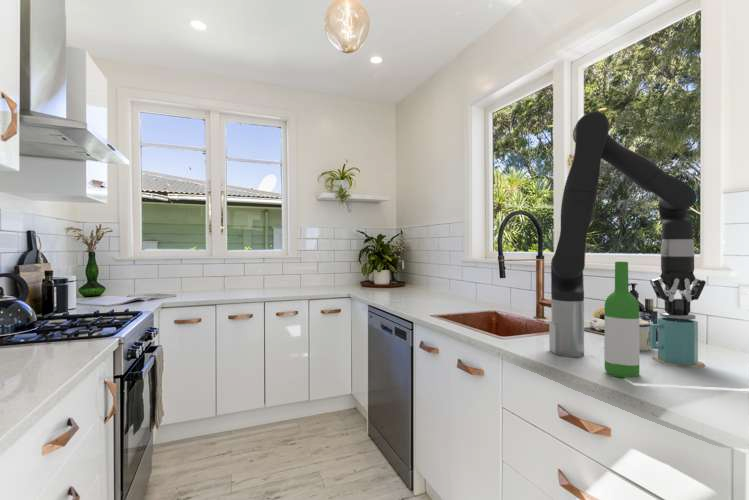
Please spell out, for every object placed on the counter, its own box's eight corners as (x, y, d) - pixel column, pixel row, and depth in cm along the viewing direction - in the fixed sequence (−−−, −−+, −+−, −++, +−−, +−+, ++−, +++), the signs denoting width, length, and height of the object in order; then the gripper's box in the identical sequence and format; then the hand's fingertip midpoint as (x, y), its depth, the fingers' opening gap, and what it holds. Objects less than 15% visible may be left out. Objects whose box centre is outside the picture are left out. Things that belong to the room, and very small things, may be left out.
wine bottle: (637, 381, 92) (637, 262, 92) (601, 374, 97) (601, 261, 97) (641, 374, 98) (641, 261, 98) (607, 367, 103) (607, 261, 103)
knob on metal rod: (671, 354, 104) (670, 300, 104) (654, 346, 112) (654, 297, 112) (702, 355, 103) (702, 301, 103) (683, 347, 111) (683, 297, 111)
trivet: (667, 368, 102) (667, 366, 102) (643, 356, 114) (643, 354, 114) (716, 370, 100) (716, 368, 100) (686, 358, 112) (686, 356, 112)
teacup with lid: (655, 353, 118) (655, 316, 118) (623, 351, 120) (623, 315, 120) (638, 343, 129) (638, 310, 129) (609, 342, 131) (609, 309, 131)
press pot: (659, 364, 104) (659, 322, 104) (642, 355, 112) (642, 316, 112) (704, 366, 102) (704, 323, 102) (683, 357, 111) (683, 317, 111)
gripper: (658, 255, 105) (658, 315, 105) (714, 255, 102) (714, 317, 102) (643, 255, 112) (643, 311, 112) (695, 254, 110) (695, 312, 110)
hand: (677, 313), depth 107 cm, fingers closed on knob on metal rod, 3 cm apart
